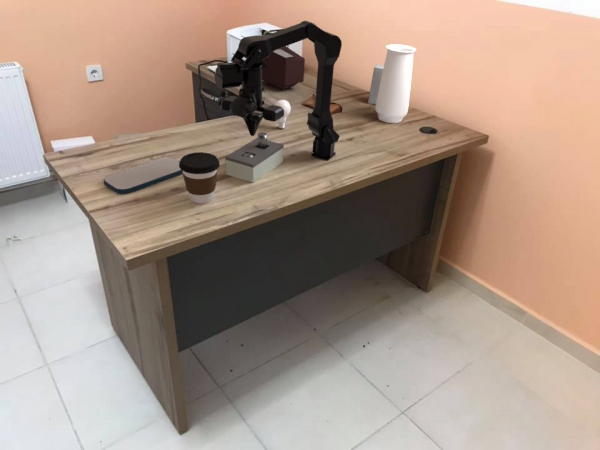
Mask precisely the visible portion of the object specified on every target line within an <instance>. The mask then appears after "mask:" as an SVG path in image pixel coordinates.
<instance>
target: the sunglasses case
mask: <svg viewBox="0 0 600 450" xmlns="http://www.w3.org/2000/svg"><path fill="white" fill-rule="evenodd" d="M315 99H316V93H312V95H311V96H309V97H308V98H307V99H306V100H305V101H304V102H302V103H301V104H302V106H304V107H307V108H310V109H312V110H314V108H315ZM330 112H331V115H332V116H333V115H337V114H341V113H342V112H343V107H342V105H341V104H340V103H337V102H334V101H331V103H330Z"/></svg>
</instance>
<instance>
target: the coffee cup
mask: <svg viewBox="0 0 600 450" xmlns="http://www.w3.org/2000/svg"><path fill="white" fill-rule="evenodd" d="M179 160H180V161H179V168H180V169H181V170H182V171H183V174H182V176H183V181H184V184H185V188H186V191H187V192H188V198H189V199H190V201H191V202H192V203H195V204H197V205H198V204H199V205H200V204H201V205H202V204H204V205H205V204H206V203H207V204H209V203H210V202H212V200H213V198H214V197H215V196H214V195H215V190H216V186H217V185H216V184H217V177H218V169H219V168H220V160H219V159H218V157H217V156H216V155H214V154H212V153H208V152H202V151H201V152H191V153H187V154H186V155H183V156H182V157H181V158H180V159H179Z"/></svg>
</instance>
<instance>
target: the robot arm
mask: <svg viewBox="0 0 600 450" xmlns="http://www.w3.org/2000/svg"><path fill="white" fill-rule="evenodd" d="M281 29H282V30H280V31H275V32H270V33H269V34H265V35H261V34H260V35H259V34H258V35H250V36H245V37H242V38H241V39H240V40H239V43H238V47H237V49H236V51H235V52H234V54H233V56H232V57H231V59H230V62H217V63H216V68H215V71H214V76H213V77H214V80H215V85H216V87H217V88H218V89H219V90H224V89H232V88H238V87H240V86H241V88H239V91H238V96H235V95H229V96H228V97H226V98H224V99H222V101H221V102H220V105H221V107H220V109H221V110H223V111H227V112H230V111H231V114H232V116H234V117H236V116H237V117H240V118H242V119H243V120H244V123H245V124H246V128H247V130H248V133H249V135H250V136H251V137H254V136H255V135H256V132H257V131H258V128H259V126H260V123H261V122H262V120H263V119H264V121H269V122H276V121H277V122H278V119H280V118H282V117H283V116H284V109H283V108H282V107H280V106H275V104H271V105H269V106H264V105H265V100H264V99H263V92H264V91H265V86H263V81H262V69H265V68H269V65H267V64H266V63H265V62H264V60H263V59H265V58H267V57H268V56H269V55H270V54H271V53H272V52H273V51H275V50H277V49H280V48H282V47H285V46H286V47H287V46H288V45H289V46H290V45H294V44H295V43H298V42H301V41H303V40H307V39H308V40H309V41H310V42H312V43H313V45H314V46H313V47H314V55H315V57H316V61H317V71H316V72H317V74H316V76H317V77H316V87H315V88H316V90H315V95H316V99H315V108H314V109H312V112H307V122H306V125H307V126H308V130H309V131H311V134H312V136H314V140H313V141H312V150H311V151H312V153H311V157H312V158H313V157H314V158H317V159H321V160H324V161H330V160H331V159H332V158H333V157H334V156H336V154H337V153H336V152H335V145H336V143H338V141H339V139H340V135H339V134H338V132H337V131H336V130H335V128H334V119H333V118H334V117H333V115H331V112H330V103H331V102H332V89H333V80H334V79H333V78H334V77H333V76H334V69H335V64H336V62H337V61H338V59H339V57H340V54H341V51H342V45H343V44H342V39H341V38H340V37H339V36H337V35H336V34H333V33H330V32H328V31H326V30H324V29H322V28H320V27H319V26H318V25H316V23H314V22H312V21H311V22H310V21H308V20H303V21H301V22H300V23H296V24H295V25H291V26H288V27H286V28H281Z"/></svg>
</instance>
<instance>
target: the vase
mask: <svg viewBox="0 0 600 450" xmlns="http://www.w3.org/2000/svg"><path fill="white" fill-rule="evenodd" d="M385 49H386V50H387V51H386V57H385V59H384V64H383V66H384V68H383V73H382V77H381V82H380V87H379V92H378V97H377V102H376V105H375V107H374V108H375V111H376V113H377V119H378V120H380V121H382V122H384V123H388V124H398V123H401V122H402V121H403V119H404V117H405V116H406V115H407V114H408V112H409V106H410V105H409V104H410V96H411V87H412V77H413V67H414V66H413V65H414V53H415V52H416V51H417V48H415V47H414V46H411V45H405V44H388V45H386V46H385Z"/></svg>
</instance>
